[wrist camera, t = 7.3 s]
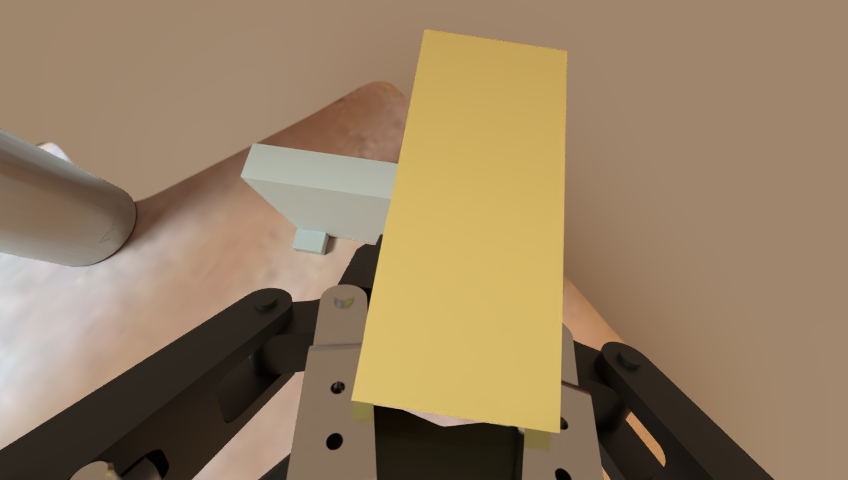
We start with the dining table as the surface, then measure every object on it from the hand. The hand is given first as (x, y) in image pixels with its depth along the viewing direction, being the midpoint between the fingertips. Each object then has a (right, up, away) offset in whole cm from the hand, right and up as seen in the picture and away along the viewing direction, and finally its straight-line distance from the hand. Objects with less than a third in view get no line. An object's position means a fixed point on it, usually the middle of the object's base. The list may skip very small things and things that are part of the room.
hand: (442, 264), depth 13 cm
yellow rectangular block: (0, -1, +5) cm, 5 cm away
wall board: (-6, +2, +21) cm, 22 cm away
